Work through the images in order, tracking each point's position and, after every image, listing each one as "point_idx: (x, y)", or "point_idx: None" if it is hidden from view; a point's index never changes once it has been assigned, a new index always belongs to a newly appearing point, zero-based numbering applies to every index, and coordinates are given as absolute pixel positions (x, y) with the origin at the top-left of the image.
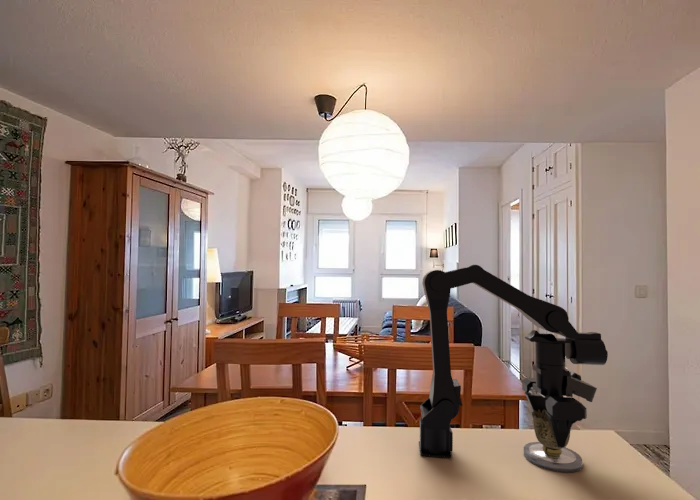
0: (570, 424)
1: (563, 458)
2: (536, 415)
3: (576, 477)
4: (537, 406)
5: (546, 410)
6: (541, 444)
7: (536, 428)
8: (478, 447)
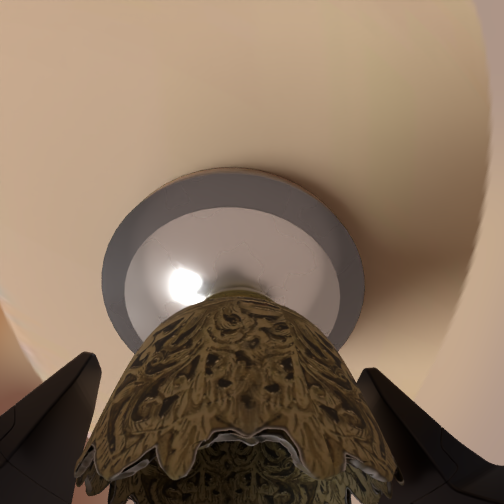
0: (479, 468)
1: (294, 290)
2: (149, 490)
3: (389, 268)
4: (58, 488)
5: (34, 442)
6: (137, 319)
7: (253, 470)
8: None
